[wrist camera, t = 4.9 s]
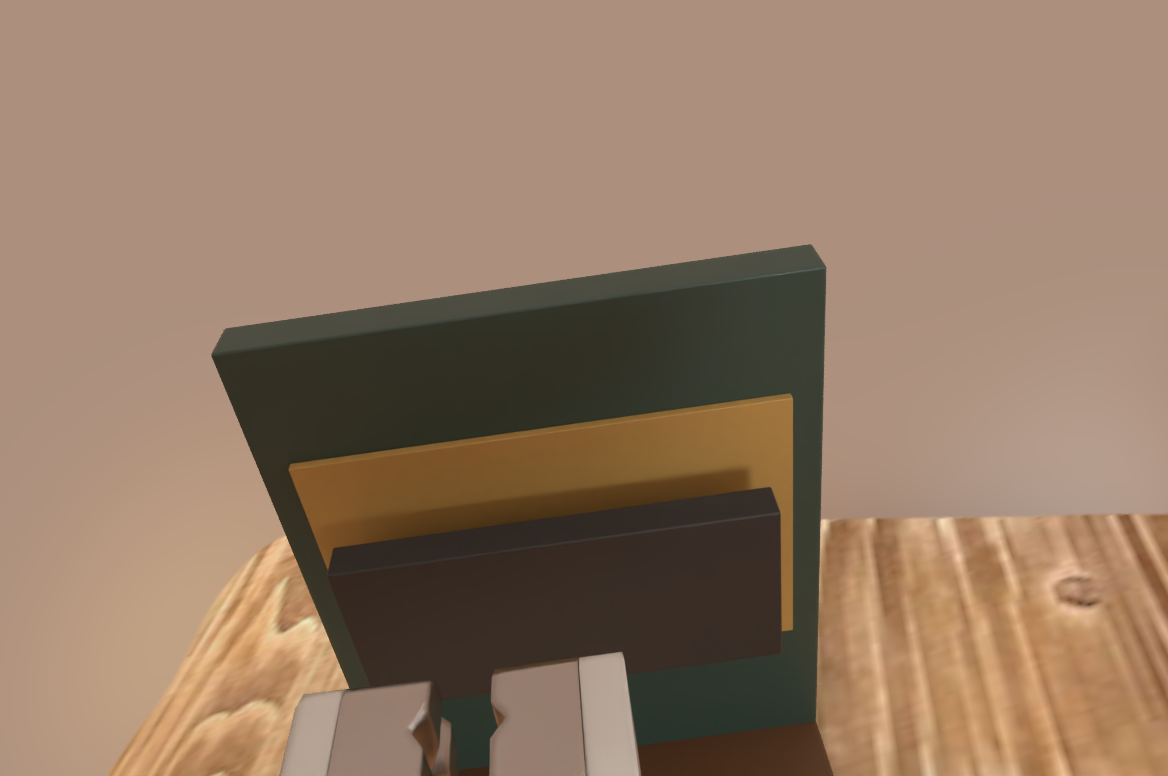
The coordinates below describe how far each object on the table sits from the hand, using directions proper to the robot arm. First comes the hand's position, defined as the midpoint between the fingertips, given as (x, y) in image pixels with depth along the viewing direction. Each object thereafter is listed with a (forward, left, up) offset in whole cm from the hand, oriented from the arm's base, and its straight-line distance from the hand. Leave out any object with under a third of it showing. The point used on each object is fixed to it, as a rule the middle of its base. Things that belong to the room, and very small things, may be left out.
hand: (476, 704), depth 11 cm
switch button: (+5, +12, -15) cm, 20 cm away
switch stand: (+6, +14, -24) cm, 28 cm away
